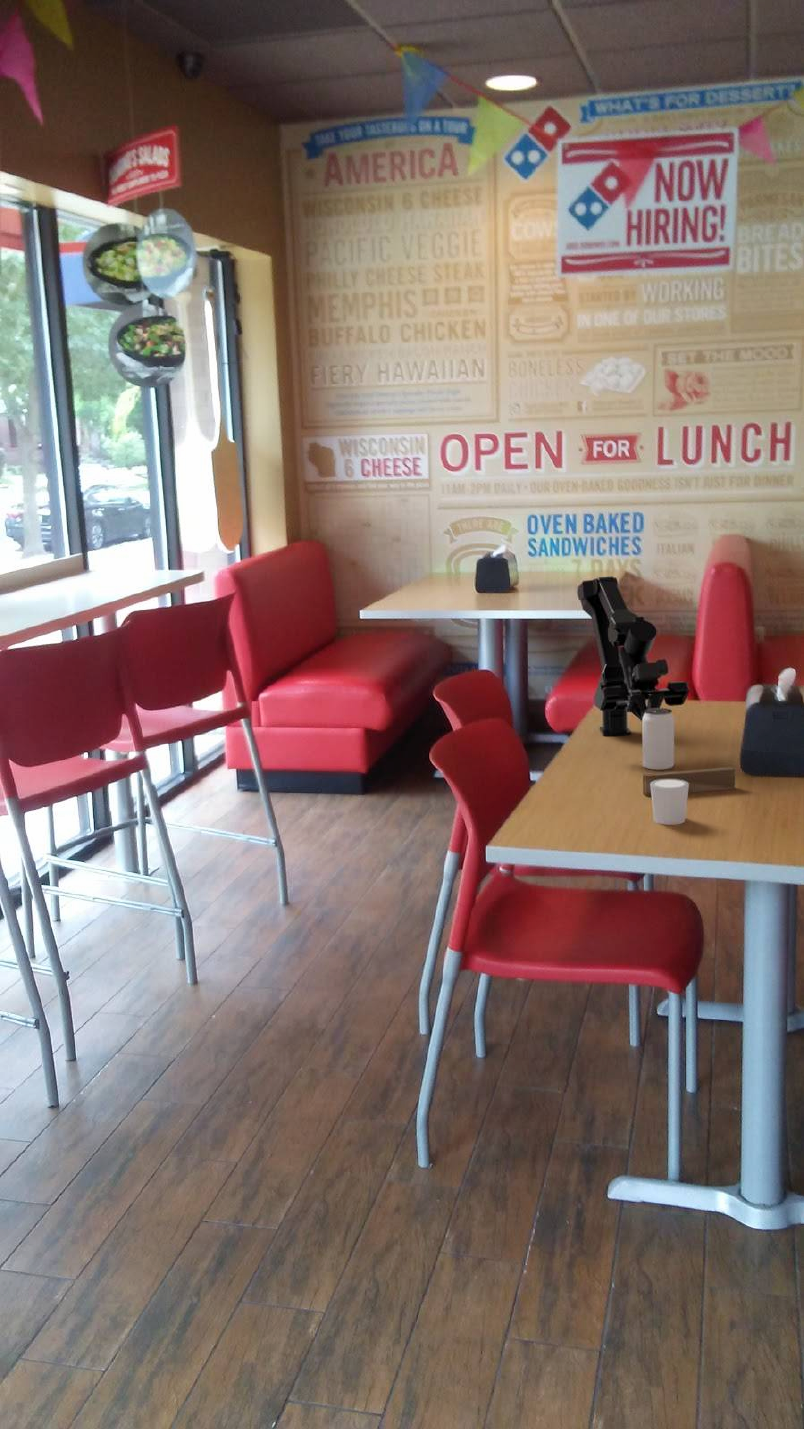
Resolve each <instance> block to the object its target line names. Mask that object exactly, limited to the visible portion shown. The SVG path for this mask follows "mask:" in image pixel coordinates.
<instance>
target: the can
mask: <svg viewBox="0 0 804 1429" xmlns="http://www.w3.org/2000/svg"><path fill="white" fill-rule="evenodd" d="M644 712H645V714H644V716H643V719H642V721H641V722H642V724H641V725H642V728H641V730H642V732H641V733H642V766H643V767H644V768H645V769H647V770H650V769H651V770H652V771H666V769H667V770H670V769H672V768H673V766H674V765H675V718H674V716H673V713H672V712H673V710H672V709H670V708H664V707H660V708H651V709H647V710H645V711H644Z"/></svg>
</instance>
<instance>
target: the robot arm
mask: <svg viewBox="0 0 804 1429" xmlns="http://www.w3.org/2000/svg"><path fill="white" fill-rule="evenodd" d="M576 590H577V598H578V600H579V601H580V603H581V608H582V610H583V611H584V612H585V613H586V614H587V615H588V616H589V617H590V618H591V621H592V626H593V630H594V636H595V640H596V645H597V650H598V655H599V660H600V664H601V669H602V672H601V674H600V677H599V680H598V684H597V687H596V690H595V693H594V695H593V701H594V706H595V707H596V708H598V709H599V710H600V711H601V712H602V726H600V727H598V728H599V731H600V732H601V734H602V735H603V736H619V735H621V736H622V735H631V734H632V731H631V729H630V728H629V727H628V713H632V714H633V715H634V716H635V717H636V718H637V719H638V720H639V721H640V722H642V719H643V716H644V714H645V712H644V711H645V710H647V709H651V708H661V706H662V703H663V701H664V703H665V704H666V705H667V706H669V707H674V706H675V707H676V706H683V705H684V704H685V703H686V700H687V698H688V695H689V693H690V687H689V684H688V683H687V682H686V681H684V680H682V681H681V680H680V681H670V682H667V685H666V688H656V687H658V686H659V684H660V682H659V679H661V678H662V677H663V676H667V674H669V666H668V663H667V659H666V658H665V659H663V658H662V659H657V660H656V661H655V662H649V659H648V654H649V653H650V652H651V649H652V646H654V642H655V638H656V636H657V628H656V626H654V624H653V623H651V622H649V621H647V620H645V618H644V616H638V615H637V614H635V613H634V612H631V611H630V610H629V608H628V606H627V604H626V602H625V599H624V597H623V595H622V593H621V591H620V589H619V584H618V578H617V577H614V576H598V577H596V578H594V579H591V580H590V579H588V580H583V581H582V582H581V583H580V584H579V585H578V586H577V589H576ZM619 647H621V648H620V649H619Z"/></svg>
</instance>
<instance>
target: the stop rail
mask: <svg viewBox="0 0 804 1429" xmlns="http://www.w3.org/2000/svg"><path fill="white" fill-rule="evenodd" d="M659 779H679V780H683V781H686V782H688V783H689V787H688V794H690V793H701V792H712V791H722V790H723V791H725V790H726V791H727V790H734V789H736V769H735V767H733V766H729V767H728V766H726V767H716V768H703V769H691V770H681V771H678V770H677V771H667V772H657V773H656V772H654V773H644V774H642V794H643V795H644V796H645V797H652V796H651V786H650V784H651V782H653V781H655V780H659Z"/></svg>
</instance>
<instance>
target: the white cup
mask: <svg viewBox="0 0 804 1429" xmlns="http://www.w3.org/2000/svg"><path fill="white" fill-rule="evenodd" d="M650 786H651V796H650V797H651V804H652V814H653V815H652V816H653V821H654V823H657V824H659V825H660V824H661V825H664V826H665V825H666V826H667V825H669V826H672V825H674V826H675V825H680V824H683V823H685V822H686V819H687V818H686V816H687V806H688V805H687V804H688V797H689V796H688V795H689V793H688V787H689V783H688V782H686V781H683V780H679V779H659V780H655V781H653V782H651V784H650Z"/></svg>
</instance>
